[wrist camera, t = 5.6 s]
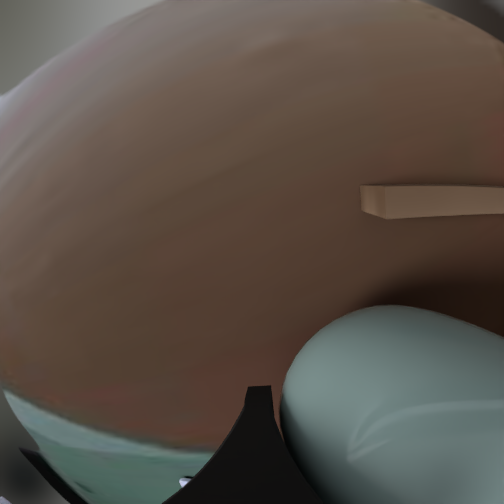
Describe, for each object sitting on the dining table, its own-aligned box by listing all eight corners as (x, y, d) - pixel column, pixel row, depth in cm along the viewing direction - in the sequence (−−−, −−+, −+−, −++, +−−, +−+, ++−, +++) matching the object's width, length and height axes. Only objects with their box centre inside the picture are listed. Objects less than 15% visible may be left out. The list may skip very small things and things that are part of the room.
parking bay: (499, 390, 12) (513, 408, 10) (344, 443, 13) (350, 472, 11) (542, 189, 9) (569, 194, 6) (359, 185, 10) (384, 186, 8)
